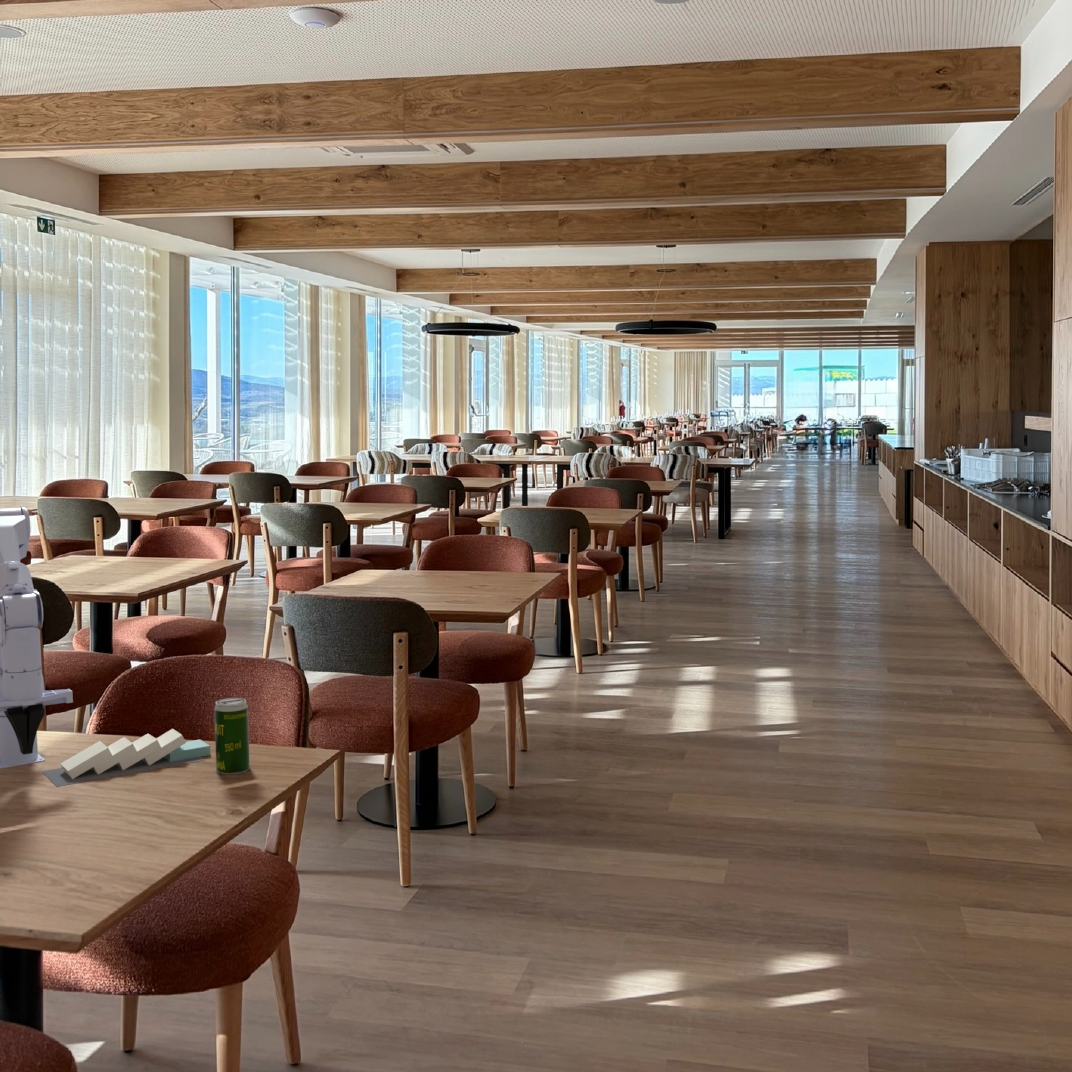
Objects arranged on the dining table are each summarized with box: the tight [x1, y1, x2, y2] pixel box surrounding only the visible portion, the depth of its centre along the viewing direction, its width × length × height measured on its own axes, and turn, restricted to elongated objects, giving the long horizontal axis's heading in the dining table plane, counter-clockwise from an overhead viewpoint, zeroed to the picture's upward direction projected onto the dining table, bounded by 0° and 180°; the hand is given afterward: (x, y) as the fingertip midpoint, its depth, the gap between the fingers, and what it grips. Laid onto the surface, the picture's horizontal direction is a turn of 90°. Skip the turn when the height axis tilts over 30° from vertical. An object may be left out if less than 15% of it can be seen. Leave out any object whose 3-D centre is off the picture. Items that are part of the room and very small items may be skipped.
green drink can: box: [213, 697, 251, 775], centre depth 194 cm, size 5×5×12 cm
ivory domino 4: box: [142, 728, 187, 765], centre depth 200 cm, size 2×5×7 cm
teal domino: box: [164, 739, 211, 762], centre depth 203 cm, size 2×5×7 cm
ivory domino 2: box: [91, 736, 137, 774], centre depth 196 cm, size 2×5×7 cm
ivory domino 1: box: [60, 740, 112, 779], centre depth 193 cm, size 2×5×7 cm
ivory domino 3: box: [116, 733, 161, 770], centre depth 198 cm, size 2×5×7 cm
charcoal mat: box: [41, 757, 205, 788], centre depth 197 cm, size 10×24×1 cm, turn 126°
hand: (26, 752), depth 188 cm, fingers closed
